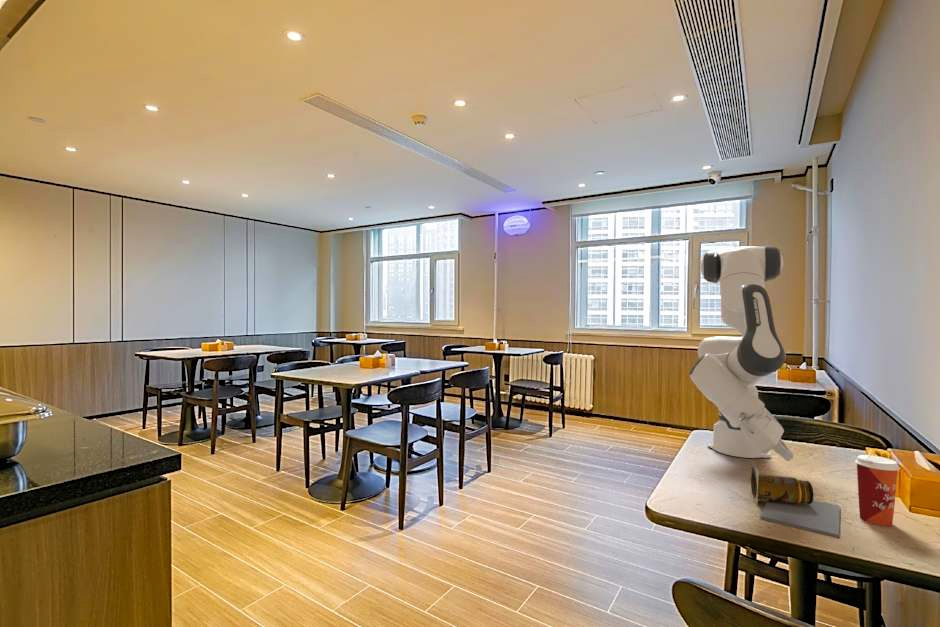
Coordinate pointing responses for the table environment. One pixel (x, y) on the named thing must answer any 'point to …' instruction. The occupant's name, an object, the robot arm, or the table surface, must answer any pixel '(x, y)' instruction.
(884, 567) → the table surface
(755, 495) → the condiment
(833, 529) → the slate mat
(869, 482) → the paper cup
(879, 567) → the table surface
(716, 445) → the robot arm
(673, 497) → the table surface
